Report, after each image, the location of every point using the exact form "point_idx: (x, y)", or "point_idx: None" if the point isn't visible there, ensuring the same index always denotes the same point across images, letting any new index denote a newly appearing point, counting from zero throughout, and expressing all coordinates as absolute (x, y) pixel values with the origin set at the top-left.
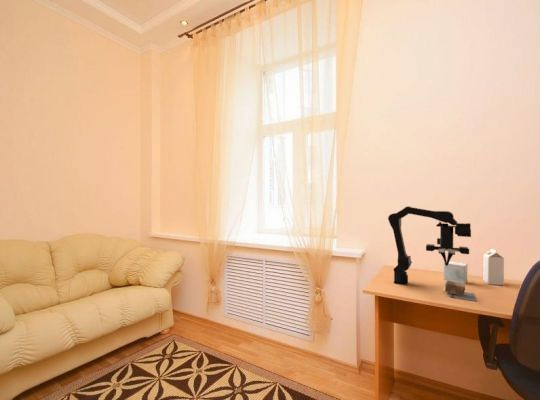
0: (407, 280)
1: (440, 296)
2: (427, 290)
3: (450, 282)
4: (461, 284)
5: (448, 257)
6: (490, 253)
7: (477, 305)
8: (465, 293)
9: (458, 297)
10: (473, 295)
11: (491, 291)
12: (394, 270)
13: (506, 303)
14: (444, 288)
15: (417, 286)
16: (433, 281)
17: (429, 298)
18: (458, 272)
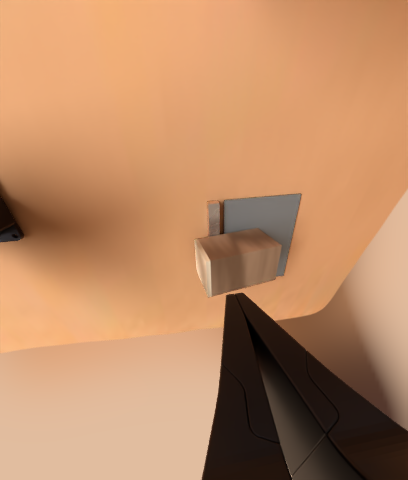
0: (3, 228)
1: (186, 290)
2: (134, 256)
3: (226, 273)
4: (271, 248)
5: (292, 456)
6: None
7: (275, 300)
8: (269, 216)
9: None
10: (291, 224)
11: (399, 99)
12: None
13: (362, 243)
14: (197, 263)
15: (78, 225)
16: (110, 33)
17: (159, 320)
18: None
